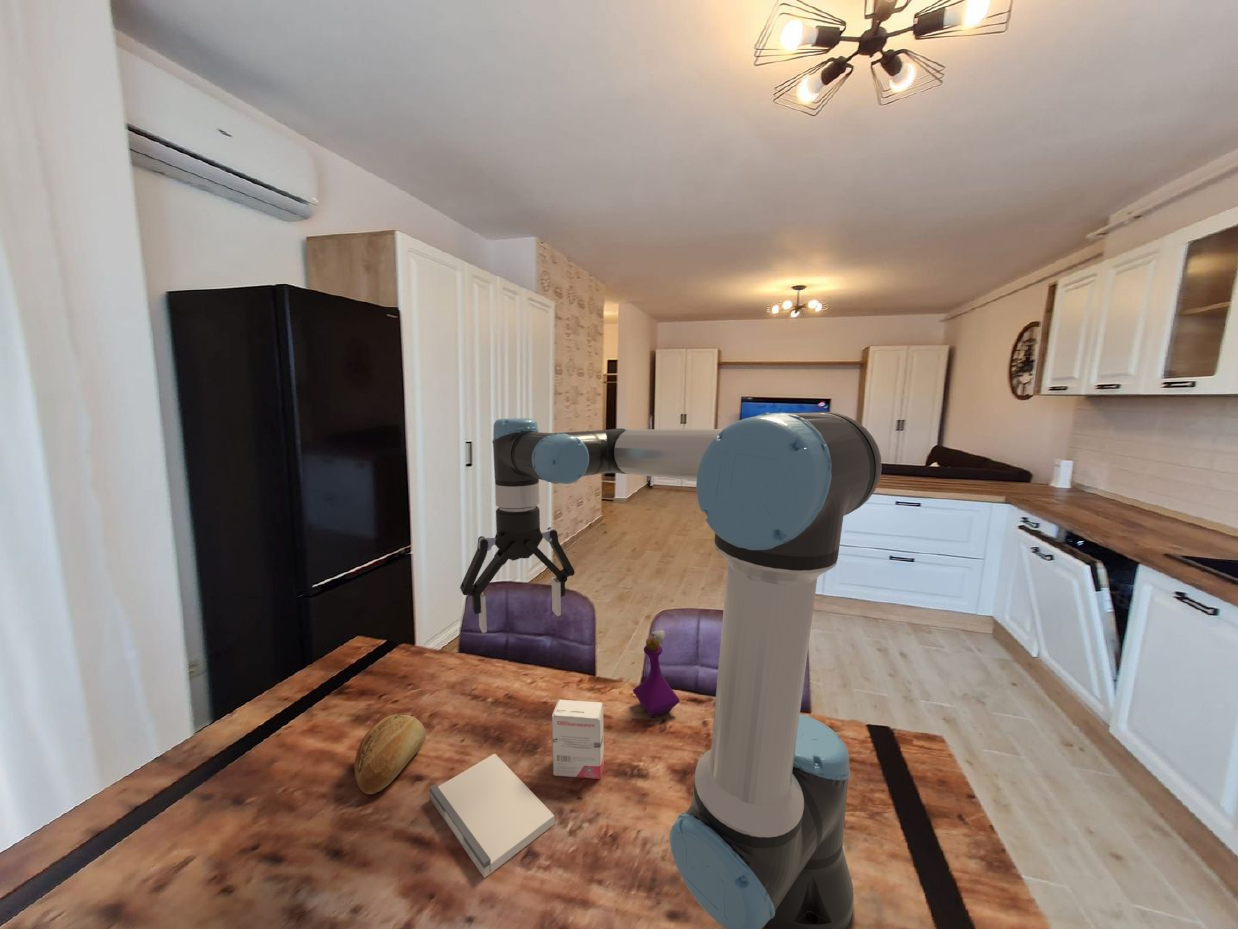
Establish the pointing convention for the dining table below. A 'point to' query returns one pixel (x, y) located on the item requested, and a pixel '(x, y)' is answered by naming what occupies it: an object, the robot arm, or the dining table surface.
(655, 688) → the perfume bottle
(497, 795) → the white flat slab
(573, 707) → the ink box
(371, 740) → the bread roll
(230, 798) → the dining table surface
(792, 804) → the robot arm
